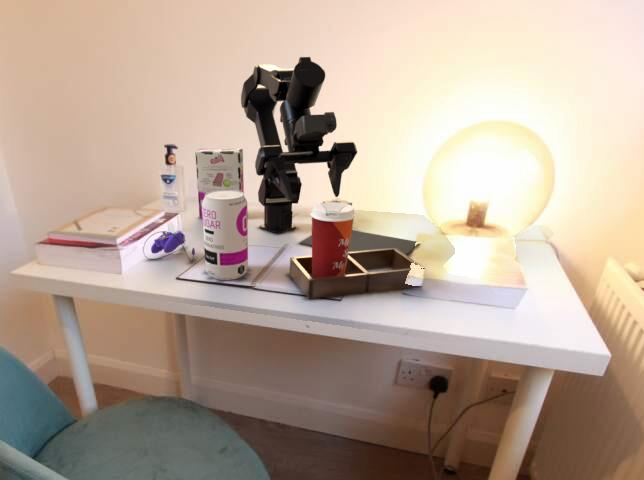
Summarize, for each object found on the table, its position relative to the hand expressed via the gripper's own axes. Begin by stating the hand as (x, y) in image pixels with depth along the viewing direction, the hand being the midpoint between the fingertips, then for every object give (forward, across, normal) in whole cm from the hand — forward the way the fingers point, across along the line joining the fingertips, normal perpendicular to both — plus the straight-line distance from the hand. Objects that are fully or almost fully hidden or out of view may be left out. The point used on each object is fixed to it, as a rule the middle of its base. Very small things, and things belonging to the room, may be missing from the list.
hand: (314, 197), depth 92 cm
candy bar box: (-17, -11, +36) cm, 41 cm away
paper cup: (+16, 0, +3) cm, 17 cm away
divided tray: (+16, +5, +3) cm, 17 cm away
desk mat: (+3, +14, +16) cm, 21 cm away
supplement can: (+10, -17, +9) cm, 22 cm away
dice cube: (-8, +15, +27) cm, 32 cm away
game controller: (+2, -26, +17) cm, 31 cm away
